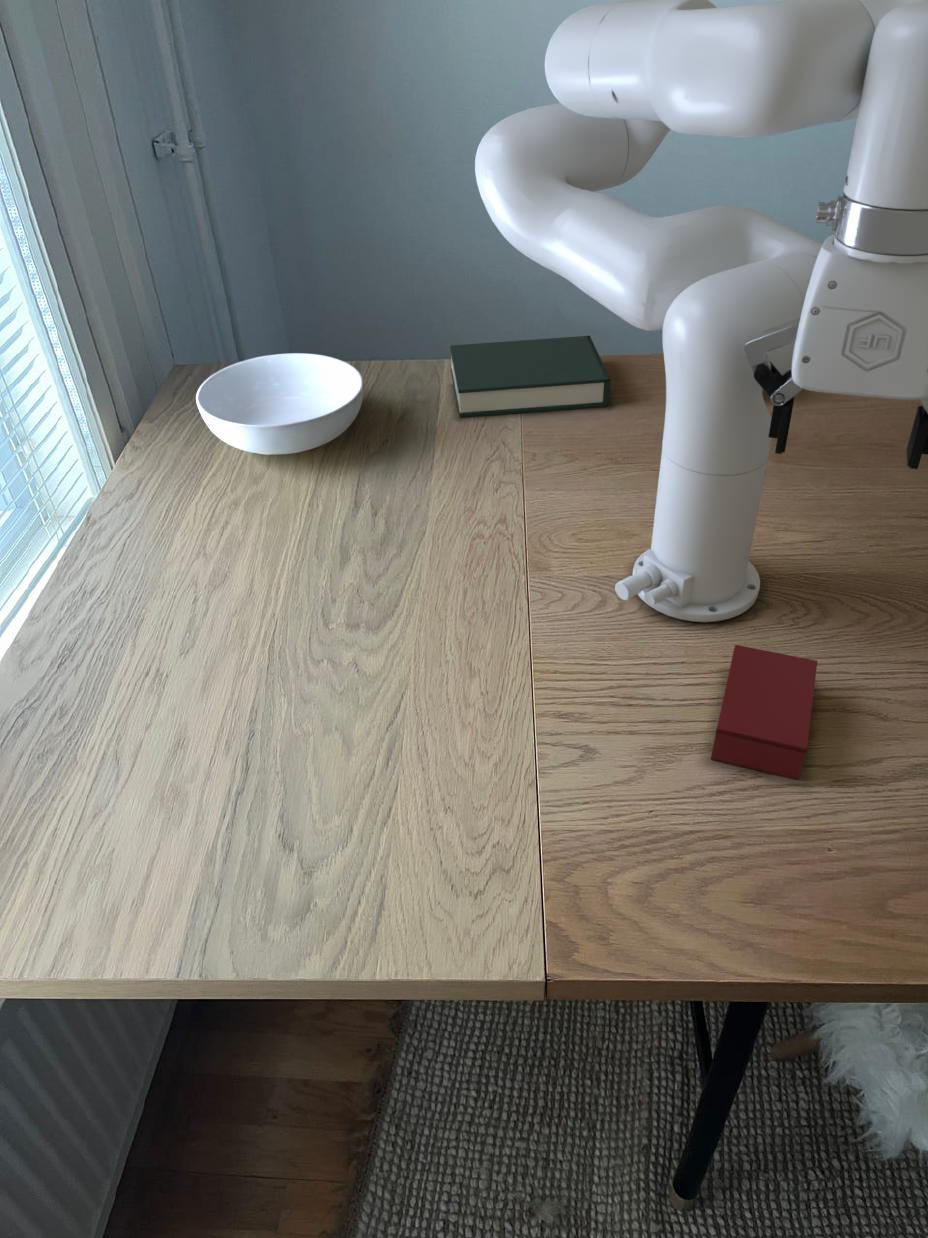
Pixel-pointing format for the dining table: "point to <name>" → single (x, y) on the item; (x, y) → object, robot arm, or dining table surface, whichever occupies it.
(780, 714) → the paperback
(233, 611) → the dining table surface
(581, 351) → the hardcover
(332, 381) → the serving bowl
